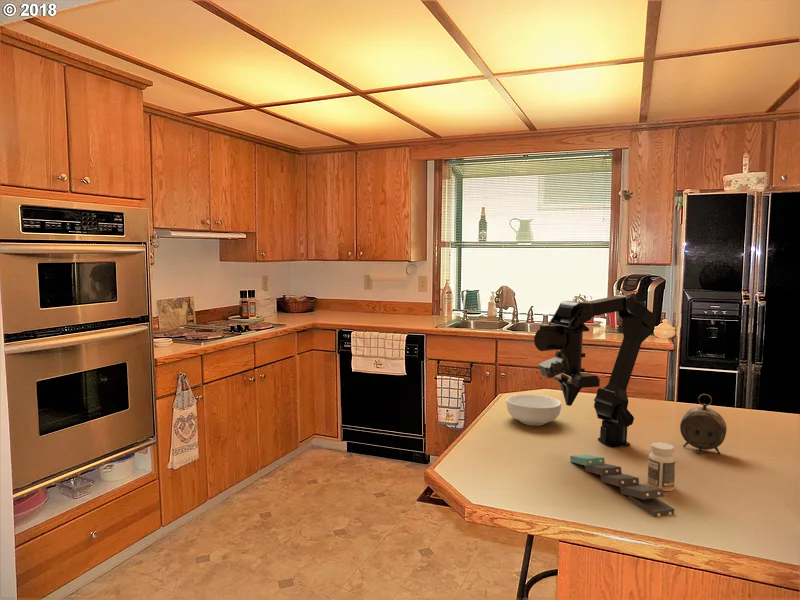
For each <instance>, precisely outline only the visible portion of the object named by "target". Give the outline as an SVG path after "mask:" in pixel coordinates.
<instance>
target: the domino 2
mask: <svg viewBox="0 0 800 600" xmlns="http://www.w3.org/2000/svg"><path fill="white" fill-rule="evenodd" d="M584 471H585V472H589V473H590V474H591V473H593V474H595V475H600V476H601V475H614V474H623V473H622V466H619V465H614V464H608V463H605V464H601V465H589V466H586V465H584Z"/></svg>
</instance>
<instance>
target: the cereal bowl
mask: <svg viewBox="0 0 800 600" xmlns="http://www.w3.org/2000/svg"><path fill="white" fill-rule="evenodd" d="M505 404H506V409H507V412H508V413H509V415H510V416H511V417H512V418H514V419H516V420H517V421H519V422H520V423H522V424H523V425H528V426H535V427H536V426H537V427H538V426H543V425H546V424H548V423H550V422H552V421H555V420H556V419H557V418H558V417H559V416H560V413H561V410H562V402H561V401H560V400H559V399H557V398H554V397H551V396H547V395H541V394H531V393H530V394H529V393H527V394H514V395H510V396H509V397H507V398H506V403H505Z"/></svg>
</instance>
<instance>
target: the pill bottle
mask: <svg viewBox="0 0 800 600" xmlns="http://www.w3.org/2000/svg"><path fill="white" fill-rule="evenodd" d="M650 449H651V452H650V453H649V455H648V465H647V466H648V467H647V468H648V469H647V486H652V487H656V488H661V489H663V492H671V491H673V490H674V489H675V481H676V478H675V477H676V460H677V459H676V457H675V456H674V455H673V454H674V450H675V449H674V446H673V445H672V444H669V443H666V442H658V441H657V442H653V443H651V447H650Z"/></svg>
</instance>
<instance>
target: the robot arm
mask: <svg viewBox="0 0 800 600" xmlns="http://www.w3.org/2000/svg"><path fill="white" fill-rule="evenodd" d="M611 313H617V316H618V318H620V319H621V321H622V322H621V331H622V335H623V337H622V341H621V344H620V347H619V351H618V353H617V356H616V359H615V362H614V366H613V369H612V372H611V374H610V377H609V380H608V383H607V385H605V386H604V387H600V386H601V378H600V377H599V376H598V375H597V374H593V373H591V372H585V371H586V368H584V367H582V363H583V358H586V353H585V352H583V339H584V338H583V336H584V335H583V334H584V332H586V333H587V332H590V328H589V327H588V326H587V325H586V324H585V323H587V322H590V321H591V320H592V319H593V318H594V317H596V316H602V315H606V314H611ZM656 323H657V318H656V316H655V314H654V312H652V311H650V310H649V309H648V307H646V306H645V305H643V304H641V303H640V302H638V301H636V299H635V298H634V297H633V296H631V295H627V294H626V295H625V294H616V295H614V296H613V295H612V296H608V297H603V298H598V299H593V300H588V301H578V300H577V301H576V300H563V301H561V302H560V303H559V305H558V308H557V309H556V311H555V313H554V314H553V316H552V318H551V319H550V321H549V322H548V324H540V325H539V329H538V330H536V332H535V334H534V337H533V342H534V346H535V347H536V349H537V350H538V351H539V352H546V351H555V354H554V355H555V356H554V357H552V358H551V357H550V358H549V359H546V360H544V361H541V362H540V363H538V367H539V371H540V374H541V376H543V377H546V378H547V379H554V381H556V382H557V383H558V384H559V385H560V388H561V390H562V391H561V392H562V394H563V397H564V402H565V405H566V406H567V407H571V406H573V403H574V401H575V400H576V398H577V396H578V394H579V393H580V391H581V390H582V388H583V389H585V388H598V387H599V388H598V389H597V392H596V395H595V398H594V399H593V402H594V403H593V408H594V409H595V412H596V417H597V419H599V420H601V426H600V432H599V433H600V434H599V437H598V438H597V440H598V441H600V442H601V443H603V444H605V445H606V446H609V447H610V448H615V447H626V446H631V442H629V441H628V428H629V427H630V426H633V423H634V420H635V417H634V415H633V414H632V413H631V411H630V410H628V406H629V405H628V404H629V398H628V393H627V389H628V385H629V382H630V381H631V375H632V373H633V370H634V367H635V364H636V361H637V359H638V356H639V352H640V349H641V346H642V343H644V341H646V339H648V338H649V336H651V335H652V332H653V330H654V328H655V326H656V325H657V324H656Z"/></svg>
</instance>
